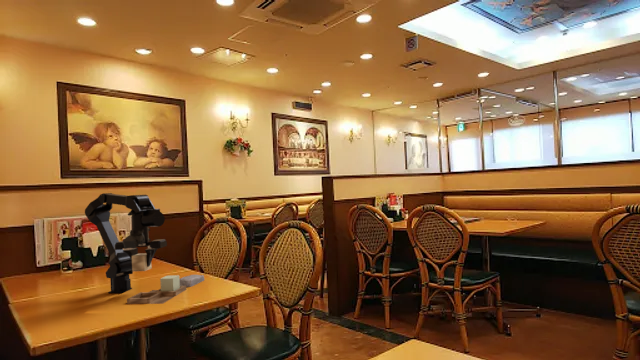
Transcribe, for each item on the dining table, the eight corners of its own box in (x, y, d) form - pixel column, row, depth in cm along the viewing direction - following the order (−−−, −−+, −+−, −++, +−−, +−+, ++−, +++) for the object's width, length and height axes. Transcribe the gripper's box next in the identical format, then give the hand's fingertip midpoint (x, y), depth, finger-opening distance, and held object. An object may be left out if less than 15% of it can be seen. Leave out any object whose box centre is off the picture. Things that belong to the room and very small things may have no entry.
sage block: (161, 294, 146) (160, 278, 146) (167, 291, 151) (167, 275, 151) (173, 294, 145) (173, 278, 145) (179, 290, 150) (179, 275, 150)
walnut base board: (125, 306, 136) (124, 299, 136) (152, 292, 153) (152, 286, 153) (163, 305, 134) (162, 299, 134) (186, 291, 152) (186, 285, 152)
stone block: (170, 293, 157) (192, 289, 155) (168, 282, 157) (190, 277, 156) (186, 287, 169) (206, 282, 167) (184, 276, 169) (204, 271, 167)
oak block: (132, 271, 150) (131, 255, 150) (139, 268, 155) (139, 253, 155) (144, 271, 149) (143, 255, 149) (151, 268, 154) (150, 253, 154)
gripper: (104, 230, 145) (106, 271, 145) (151, 228, 143) (153, 270, 143) (122, 226, 156) (124, 265, 156) (166, 224, 154) (168, 264, 154)
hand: (141, 266), depth 152 cm, fingers closed on oak block, 5 cm apart
